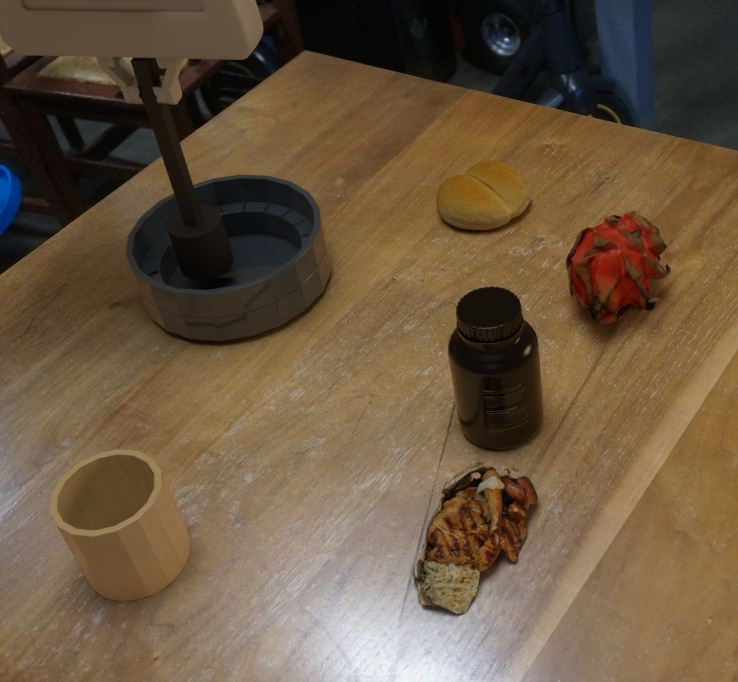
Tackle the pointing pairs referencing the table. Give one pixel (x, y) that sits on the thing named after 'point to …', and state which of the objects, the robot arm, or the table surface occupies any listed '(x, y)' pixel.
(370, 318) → the table surface
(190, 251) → the long black rod
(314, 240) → the bowl
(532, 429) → the supplement bottle
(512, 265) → the table surface
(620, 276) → the dragon fruit
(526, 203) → the bread roll
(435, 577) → the brown food piece
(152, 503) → the crock
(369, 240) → the table surface
